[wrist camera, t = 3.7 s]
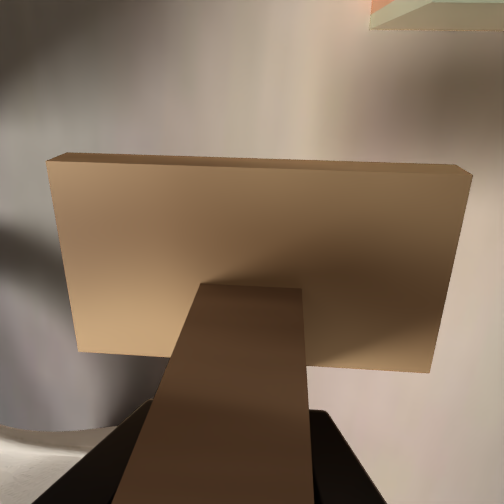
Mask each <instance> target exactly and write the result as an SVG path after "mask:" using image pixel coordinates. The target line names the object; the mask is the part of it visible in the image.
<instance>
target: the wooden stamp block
mask: <svg viewBox="0 0 504 504" xmlns="http://www.w3.org/2000/svg"><path fill="white" fill-rule="evenodd" d="M46 166H47V172H48V177H49V183H50V189H51V195H52V201H53V206H54V212H55V218H56V224H57V230H58V236H59V241H60V247H61V253H62V259H63V265H64V270H65V276H66V282H67V288H68V294H69V300H70V305H71V311H72V317H73V323H74V329H75V334H76V340H77V346H78V352H92V353H108V354H124V355H140V356H157V357H170V360H169V362H168V365H167V367H166V370H165V372H164V375H163V377H162V380H161V382H160V384H159V387H158V389H157V392H156V394H155V397H154V399H153V402H152V404H151V407H150V409H149V412H148V414H147V417H146V419H145V422H144V424H143V427H142V429H141V432H140V434H139V437H138V439H137V442H136V444H135V447H134V449H133V451H132V454H131V456H130V459H129V461H128V464H127V466H126V469H125V471H124V474H123V476H122V479H121V481H120V484H119V486H118V489H117V491H116V494H115V496H114V499H113V501H112V504H314V491H313V474H312V456H311V439H310V422H309V405H308V388H307V371H306V366H318V367H335V368H351V369H367V370H383V371H399V372H416V373H430V368H431V364H432V359H433V354H434V350H435V345H436V341H437V336H438V332H439V327H440V323H441V318H442V314H443V309H444V304H445V300H446V295H447V291H448V286H449V282H450V277H451V273H452V268H453V264H454V259H455V254H456V250H457V245H458V241H459V236H460V232H461V227H462V223H463V218H464V214H465V209H466V204H467V200H468V195H469V191H470V186H471V182H472V177H473V175H472V174H470V173H469V172H467V171H465V170H464V169H462V168H460V167H459V166H457V165H448V164H417V163H385V162H353V161H322V160H290V159H258V158H226V157H195V156H163V155H131V154H100V153H68V152H67V153H65V154H62V155H60V156H57V157H55V158H52V159H50V160H47V161H46Z"/></svg>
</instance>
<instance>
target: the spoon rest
mask: <svg viewBox="0 0 504 504" xmlns="http://www.w3.org/2000/svg"><path fill="white" fill-rule="evenodd" d="M116 427H117V426H113V427H105V428H96V429H87V430H78V431H62V432H50V431H31V430H23V429H17V428H11V427H8V426H4V425H1V424H0V504H31V503H32V502H33V501H35V500H36V499H37V498H38V497H39V496H40V495H41V494H42V493H44V492H45V491H46V490H47V489H48V488H49V487H50V486H51V485H52V484H54V483H55V482H56V481H57V480H58V479H59V478H60V477H61V476H63V475H64V474H65V473H66V472H67V471H68V470H69V469H70V468H72V467H73V466H74V465H75V464H76V463H77V462H78V461H79V460H80V459H82V458H83V457H84V456H85V455H86V454H87V453H88V452H89V451H91V450H92V449H93V448H94V447H95V446H96V445H97V444H98V443H100V442H101V441H102V440H103V439H104V438H105V437H106V436H107V435H108V434H110V433H111V432H112V431H113V430H114V429H115V428H116Z"/></svg>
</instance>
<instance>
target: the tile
mask: <svg viewBox="0 0 504 504" xmlns="http://www.w3.org/2000/svg"><path fill="white" fill-rule="evenodd" d="M369 30H431V31H504V0H372V6H371V15H370V24H369Z"/></svg>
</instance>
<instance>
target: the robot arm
mask: <svg viewBox="0 0 504 504" xmlns="http://www.w3.org/2000/svg"><path fill="white" fill-rule="evenodd" d="M152 402H153V399H149V400H147V401H145V402H144V403H143V404H142V405H141V406H140V407H139V408H138V409H136V410H135V411H134V412H133V413H132V414H131V415H130V416H129V417H128V418H126V419H125V420H124V421H123V422H122V423H121V424H120V425H119V426H117V427H116V428H115V429H114V430H113V431H112V432H111V433H110V434H108V435H107V436H106V437H105V438H104V439H103V440H102V441H101V442H100V443H98V444H97V445H96V446H95V447H94V448H93V449H92V450H91V451H89V452H88V453H87V454H86V455H85V456H84V457H83V458H82V459H80V460H79V461H78V462H77V463H76V464H75V465H74V466H73V467H72V468H70V469H69V470H68V471H67V472H66V473H65V474H64V475H63V476H61V477H60V478H59V479H58V480H57V481H56V482H55V483H54V484H52V485H51V486H50V487H49V488H48V489H47V490H46V491H45V492H44V493H42V494H41V495H40V496H39V497H38V498H37V499H36V500H35V501H33V502H32V503H31V504H112V501H113V499H114V496H115V494H116V491H117V489H118V486H119V484H120V481H121V479H122V476H123V474H124V471H125V469H126V466H127V464H128V461H129V459H130V456H131V454H132V451H133V449H134V447H135V444H136V442H137V439H138V437H139V434H140V432H141V429H142V427H143V424H144V422H145V419H146V417H147V414H148V412H149V409H150V407H151V404H152ZM309 422H310V439H311V456H312V474H313V491H314V504H387V503H386V501H385V500H384V498H383V497H382V495H381V494H380V492H379V491H378V489H377V487H376V486H375V484H374V483H373V481H372V480H371V478H370V477H369V475H368V474H367V472H366V471H365V469H364V468H363V466H362V465H361V463H360V461H359V460H358V458H357V457H356V455H355V454H354V452H353V451H352V449H351V448H350V446H349V445H348V443H347V442H346V440H345V438H344V437H343V435H342V434H341V432H340V431H339V429H338V428H337V426H336V425H335V423H334V422H333V420H332V419H331V417H330V416H329V414H328V413H327V412H326V411H324V410H311V409H309Z"/></svg>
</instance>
